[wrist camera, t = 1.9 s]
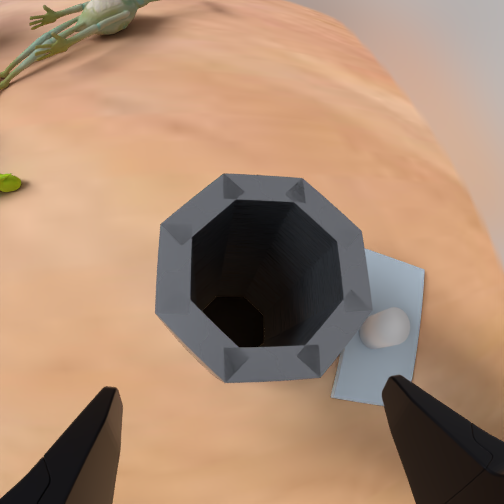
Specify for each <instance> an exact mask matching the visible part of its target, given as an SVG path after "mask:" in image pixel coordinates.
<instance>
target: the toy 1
mask: <svg viewBox="0 0 504 504" xmlns="http://www.w3.org/2000/svg"><path fill="white" fill-rule="evenodd" d="M20 186H21V180H20V179H19V178H18V177H16V176H13V175H11V174H0V191H3V192H10V191H15V190H17V189H18V188H19V187H20Z"/></svg>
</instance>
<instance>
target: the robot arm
mask: <svg viewBox="0 0 504 504" xmlns="http://www.w3.org/2000/svg"><path fill="white" fill-rule="evenodd" d="M382 400H383V404H384V408H385V412H386V415H387V419H388V423H389V427H390V431H391V434H392V437H393V439H394V442H395V445H396V448H397V450H398V453H399V456H400V459H401V461H402V464H403V467H404V470H405V473H406V476H407V478H408V481H409V484H410V487H411V490H412V493H413V496H414V499H415V502H416V504H504V442H503V441H501V440H499V439H497V438H496V437H494V436H492V435H490V434H488V433H487V432H485V431H484V430H482V429H480V428H479V427H477V426H476V425H474V424H473V423H471V422H470V421H468V420H467V419H465V418H464V417H462V416H461V415H459V414H458V413H456V412H455V411H453V410H452V409H450V408H449V407H447V406H446V405H444V404H443V403H442V402H440V401H439V400H437V399H436V398H434V397H433V396H431V395H430V394H428V393H427V392H425V391H424V390H422V389H421V388H419V387H418V386H416V385H415V384H414V383H412V382H411V381H409V380H408V379H406V378H405V377H403V376H402V375H393V376H390V377H389V378H388V380H387V382H386V384H385V386H384V388H383V390H382ZM122 414H123V405H122V401H121V398H120V395H119V391H118V389H117V388H116V387H108V386H106V387H104V388H103V389H102V390H101V391H100V392H99V393H98V394H97V395H96V396H95V398H94V399H93V400H92V401H91V402H90V403H89V404H88V405H87V407H86V408H85V409H84V410H83V411H82V412H81V413H80V415H79V416H78V417H77V418H76V419H75V420H74V421H73V422H72V424H71V425H70V426H69V427H68V428H67V429H66V430H65V432H64V433H63V434H62V435H61V436H60V437H59V439H58V440H57V441H56V442H55V443H54V444H53V445H52V447H51V448H50V449H49V450H48V451H47V452H46V454H45V455H44V457H42V458H41V459H40V460H39V462H38V463H37V464H36V465H35V466H34V467H33V468H32V469H31V470H30V472H29V473H28V474H27V475H26V476H25V477H24V478H23V479H21V480H20V481H19V482H18V483H17V484H16V485H15V486H14V487H13V488H12V489H11V490H9V491H8V492H7V493H6V494H5V495H4V496H3V497H2V498H0V504H112V503H113V495H114V488H115V481H116V475H117V468H118V462H119V456H120V447H121V429H122Z"/></svg>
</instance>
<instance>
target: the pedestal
mask: <svg viewBox="0 0 504 504" xmlns="http://www.w3.org/2000/svg"><path fill="white" fill-rule="evenodd" d="M364 249H365V248H364ZM365 255H366V262H367V269H368V276H369V283H370V291H371V300H372V308H373V311H372V312H371V313H370V315H369V316H368V317H367V319H366V320H365V322H364V323H363V324H362V326H361V327H360V328H359V330H358V331H357V332H356V334H355V335H354V336H353V338H352V339H351V340H350V341H349V343H348V344H347V345H346V347H345V348H344V349H343V350H342V352H341V353H340V358H339V363H338V367H337V372H336V376H335V380H334V384H333V389H332V393H331V398H337V399H343V400H348V401H354V402H361V403H367V404H374V405H381V406H384V404H383V400H382V390H383V388H384V386H385V384H386V382H387V380H388V378H389V377H390V376H393V375H402V376H403V377H405V378H406V379H408V380H409V381H412V376H413V370H414V364H415V358H416V351H417V344H418V337H419V329H420V320H421V310H422V300H423V287H424V269H421V268H419V267H416V266H413V265H410V264H407V263H405V262H402V261H399V260H396V259H393V258H391V257H388V256H385V255H382V254H379V253H376V252H374V251H371V250H368V249H365Z"/></svg>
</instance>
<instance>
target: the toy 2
mask: <svg viewBox="0 0 504 504" xmlns="http://www.w3.org/2000/svg"><path fill="white" fill-rule="evenodd" d="M152 1H158V0H91V1H89V2H85V3H83V4H78V5H75V6H73V7H70V8H67V9H65V10H62V11H58V12H54V11H53V10H51V9H50V8H48V7H47V6H46V5H44V6H43V8H44V10H46V11H47V14H45V15H40V16H33V17H30V20H32V19H40V18H43V19H42V20H38V21H34V22H31V23H30V26H31V25H34V24H37V23H40V22H42V23H41V24H39V25H36V26H34V27H32V28H31V30H33V29H36V28H38V27H40V26H43V25H46V24H49V23H53V22H55V21H56V19H58V18H60V17H62V16H65V15H69V14H72V13H76V12H80V11H82V10H83V12H82V14H81V15H80V16H78V17H76V18H74V19H72V20H70V21H67V22H65V23H63V24H61V25H59V26H57V27H56V28H54V29H52V30H50V31H49V32H47V33H45V34H43V35H42V36H41V37H39V38H38V39H37V40H36V41H35V42H33V43H32V44H31V45H30V46H29V47H28V48H27V49H26V50H25V51H24V52H22V53H21V54H20V55H19V56H18V57H17V58H16V59H15V60H14V61H13V62H12V63H11V64H10V65H9V66H8V67H7V68H6V69H5V71H3V72H1V73H0V78H5V77H6V78H5V80H3V81H2V82H0V90H1V89H4V88H6V87H8V86H9V82H10V81H11V80H12V79H13V78H14V77H15V76H16V75H18V74H19V73H20V72H21V71H23V70H24V69H25V68H27V67H28V66H30V65H31V64H32V63H34V62H35V61H40V60H43V59H45V58H47V57H50V56H53V55H55V54H58V53H62V52H65V51H67V49H68V48H69V47H70V46H72V45H73V44H75V43H77V42H79V41H81V40H83V39H85V38H87V37H89V36H91V35H94V34H99V35H105V34H115V33H118V31H120V30H122V29H125V28H126V27H127V26H128V24H129V23H130V22H131V21H132V20H133V19H134V16H135V14H136V12H137V9H139V8H141V7H143V6H145V5H147V4H148V3H149V2H152ZM77 21H78V22H77ZM75 22H77V24H76V25H75V26H74V27H72V28H70V29H68V30H66V31H64V32H62V33H60V32H61V31H62V30H64V29H66V28H67V27H69V26H70V25H72V24H73V23H75ZM80 31H81V32H80ZM73 32H79V33H78V34H76V35H75V36H73V37H71V38H68V39H65V38H66V37H67V36H69V35H71V34H72V33H73ZM58 33H60V34H58ZM57 34H58V35H57ZM51 37H53V38H51ZM50 38H51V39H50ZM48 52H51V53H49V54H47V55H45V54H46V53H48ZM26 57H27V58H26ZM25 58H26V59H25ZM23 59H25V60H24V61H23V62H22V63H21V64H20V65H19V66H18V67H17V68H16V69H15V70H14V71H12V72H11V73H10V74H9V72H10V71H11V70H12V69H13V68H14V67H15V66H16V65H17V64H18V63H20V62H21V61H22V60H23ZM8 74H9V75H8Z"/></svg>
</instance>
